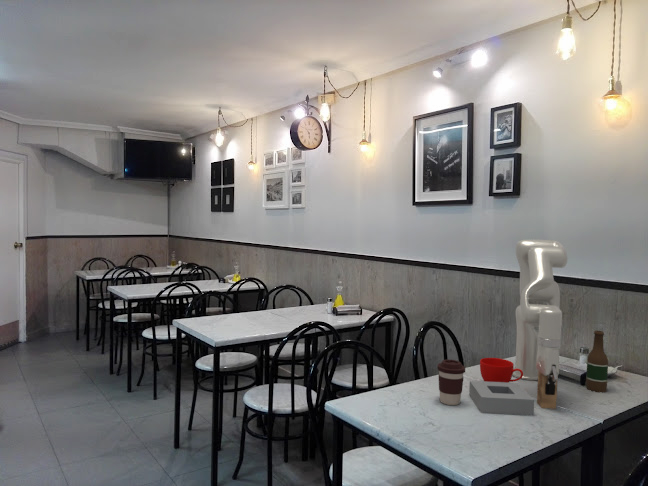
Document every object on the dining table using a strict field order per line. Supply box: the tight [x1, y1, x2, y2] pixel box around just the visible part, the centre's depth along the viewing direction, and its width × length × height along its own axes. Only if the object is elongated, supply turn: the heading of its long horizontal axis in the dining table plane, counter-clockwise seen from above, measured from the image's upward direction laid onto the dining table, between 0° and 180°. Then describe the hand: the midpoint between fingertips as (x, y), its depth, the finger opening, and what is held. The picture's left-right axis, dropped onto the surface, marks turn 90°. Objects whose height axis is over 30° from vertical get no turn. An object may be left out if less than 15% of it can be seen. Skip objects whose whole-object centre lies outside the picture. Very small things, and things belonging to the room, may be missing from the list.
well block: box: [468, 380, 535, 416], centre depth 181 cm, size 18×18×6 cm
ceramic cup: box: [479, 357, 523, 383], centre depth 201 cm, size 13×17×10 cm
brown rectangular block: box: [536, 371, 559, 410], centre depth 181 cm, size 5×5×14 cm
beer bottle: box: [585, 330, 609, 393], centre depth 201 cm, size 8×8×24 cm
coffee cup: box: [436, 359, 466, 406], centre depth 182 cm, size 10×10×15 cm
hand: (546, 391), depth 181 cm, fingers closed on brown rectangular block, 5 cm apart
